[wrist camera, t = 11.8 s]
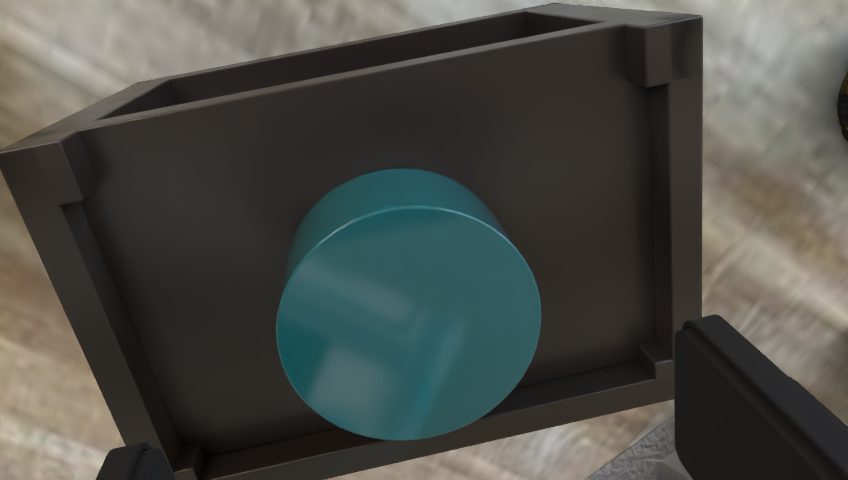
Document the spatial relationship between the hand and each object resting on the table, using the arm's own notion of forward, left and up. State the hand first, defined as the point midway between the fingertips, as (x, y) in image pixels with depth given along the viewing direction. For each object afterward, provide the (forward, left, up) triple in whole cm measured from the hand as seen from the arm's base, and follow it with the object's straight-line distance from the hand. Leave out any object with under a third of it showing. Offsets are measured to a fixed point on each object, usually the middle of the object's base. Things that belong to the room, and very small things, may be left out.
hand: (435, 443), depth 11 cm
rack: (+1, 0, -19) cm, 19 cm away
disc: (+1, 0, -8) cm, 8 cm away
